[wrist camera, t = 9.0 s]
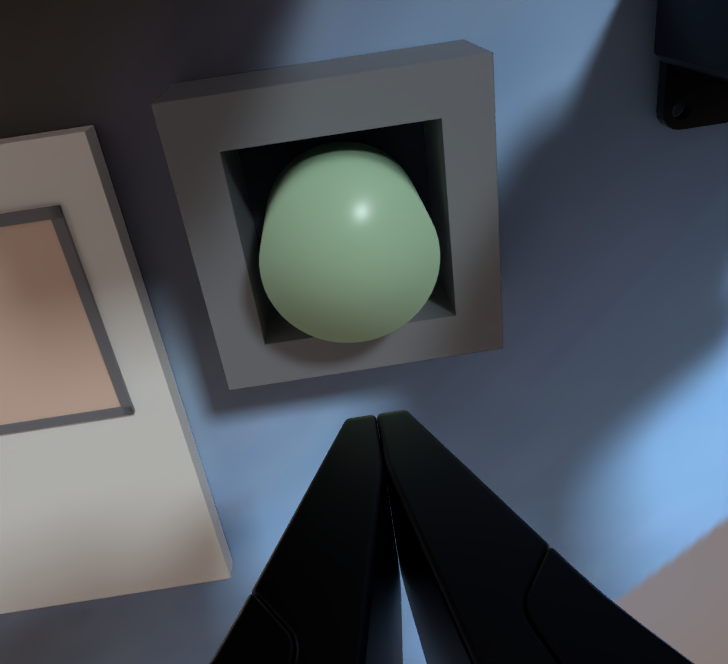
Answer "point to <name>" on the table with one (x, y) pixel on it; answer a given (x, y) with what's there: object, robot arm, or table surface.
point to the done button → (347, 244)
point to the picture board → (87, 397)
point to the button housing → (322, 118)
